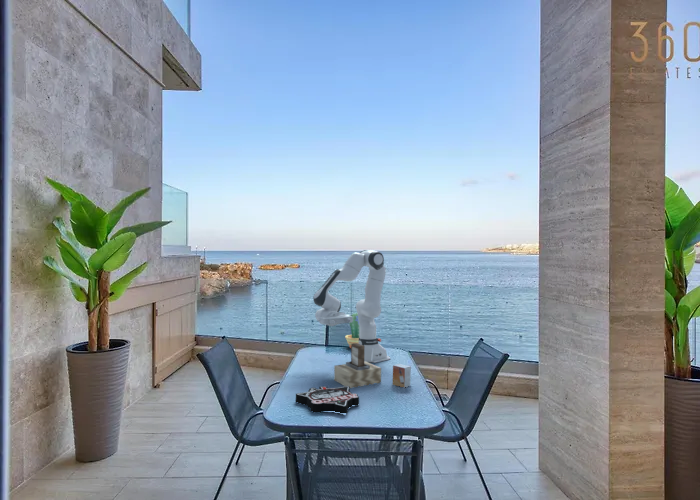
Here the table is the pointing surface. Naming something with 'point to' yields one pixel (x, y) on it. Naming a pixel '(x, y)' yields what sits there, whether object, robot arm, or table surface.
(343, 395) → the wall plaque
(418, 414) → the table surface
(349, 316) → the robot arm
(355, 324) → the potted cactus
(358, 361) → the tall brown block
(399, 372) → the small box
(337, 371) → the beige rectangular block
